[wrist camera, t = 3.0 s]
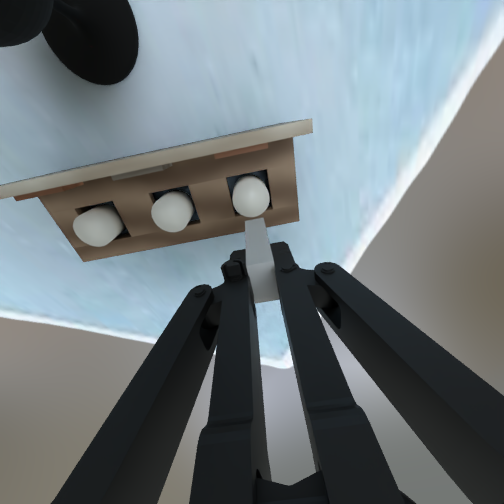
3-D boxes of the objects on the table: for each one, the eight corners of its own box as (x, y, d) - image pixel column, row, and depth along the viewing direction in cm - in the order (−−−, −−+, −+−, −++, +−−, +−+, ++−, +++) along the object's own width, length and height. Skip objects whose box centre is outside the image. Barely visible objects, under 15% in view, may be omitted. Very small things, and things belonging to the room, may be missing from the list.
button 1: (86, 207, 29) (65, 218, 25) (116, 201, 29) (99, 210, 25) (103, 236, 31) (86, 249, 28) (132, 230, 31) (118, 243, 27)
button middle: (156, 192, 28) (145, 201, 25) (188, 186, 28) (181, 194, 25) (169, 223, 31) (160, 235, 27) (198, 217, 30) (193, 228, 27)
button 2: (230, 177, 28) (228, 184, 24) (263, 170, 28) (266, 177, 24) (237, 209, 30) (236, 220, 27) (268, 203, 30) (271, 213, 26)
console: (62, 170, 31) (-56, 197, 19) (282, 122, 29) (312, 118, 17) (105, 243, 37) (38, 299, 25) (290, 207, 35) (317, 248, 23)
